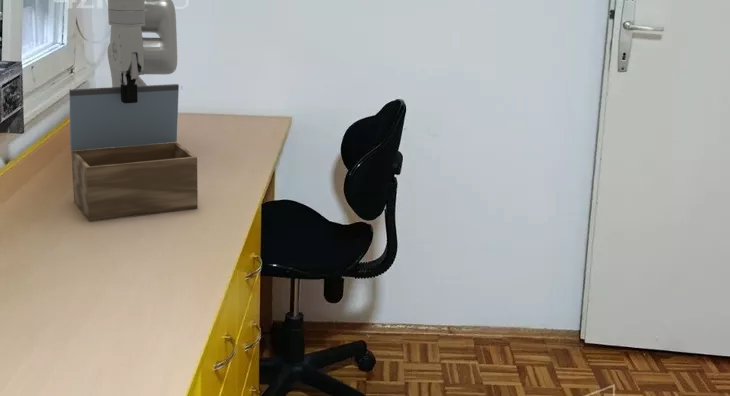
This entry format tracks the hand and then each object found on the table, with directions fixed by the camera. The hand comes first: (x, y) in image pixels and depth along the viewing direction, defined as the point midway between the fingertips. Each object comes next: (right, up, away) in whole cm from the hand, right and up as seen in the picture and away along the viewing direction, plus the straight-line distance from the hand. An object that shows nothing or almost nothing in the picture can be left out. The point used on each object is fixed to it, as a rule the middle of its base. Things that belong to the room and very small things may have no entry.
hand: (129, 102), depth 194 cm
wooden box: (0, -23, +5) cm, 23 cm away
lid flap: (-2, -3, +4) cm, 5 cm away
